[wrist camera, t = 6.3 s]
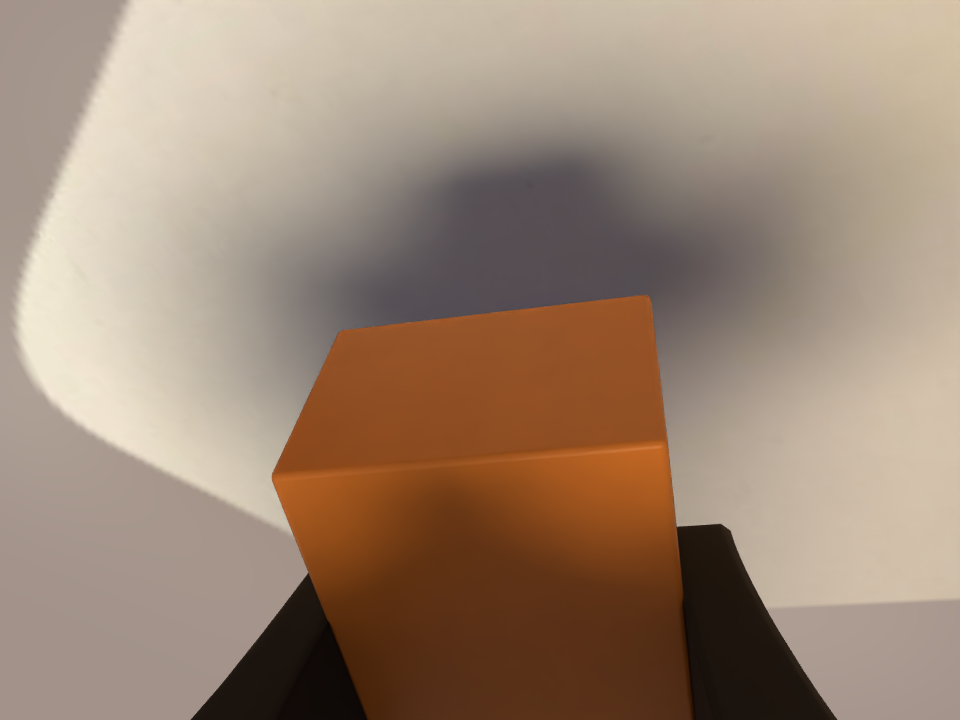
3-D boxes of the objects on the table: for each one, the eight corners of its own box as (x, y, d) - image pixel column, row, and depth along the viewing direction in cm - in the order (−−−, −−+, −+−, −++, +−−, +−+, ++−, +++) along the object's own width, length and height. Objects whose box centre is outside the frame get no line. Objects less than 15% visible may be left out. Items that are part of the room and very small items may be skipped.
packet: (650, 291, 11) (668, 442, 8) (690, 674, 14) (711, 861, 12) (338, 328, 12) (267, 477, 9) (448, 683, 15) (420, 860, 13)
